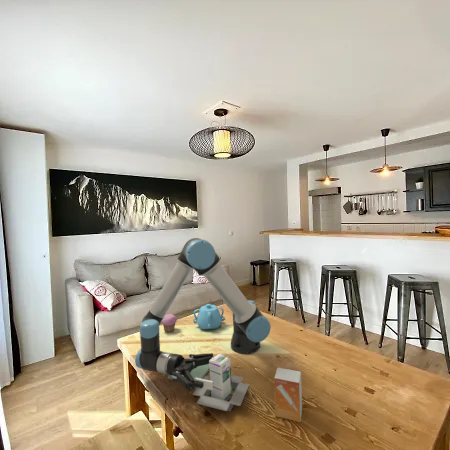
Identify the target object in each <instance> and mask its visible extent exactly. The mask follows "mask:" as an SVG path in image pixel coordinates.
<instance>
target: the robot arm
mask: <svg viewBox="0 0 450 450" xmlns="http://www.w3.org/2000/svg"><path fill="white" fill-rule="evenodd" d="M176 260H177V261H176V262H177V263H176V264H175V266H174V268H173V270H172V271H171V273H170V275H169V276H168V278H167V279H166V281H165V283H164V285H163V286H162V288H161V290H160V292H159V293H158V295H157V296H156V298H155V299H154V302H153V303H152V305H151V306H150V308H149V310H148V311H147V313H146V314H145V315H144V316H143V318H142V320H141V323H140V325H139V337H140V349H139V350H138V351H137V353H136V355H135V356H136V357H135V359H134V363H135V366H136V367H137V368H139V369H141V370H144V371H149V372H155V373H159V374H163V375H168V376H169V375H171V376H172V379H173V380H172V381H176V382H177V383H178V384H179V385H181V386H182V387H183V389H185V390H186V391H191V390H192V391H195V390H196V388H204V389H209V390H213V381H210V380H205V379H204V378H203V379H201V378H195V380H194V378H193V377H192V375H191V374H190V372H191V371H192V370H193V369H195V368H197V367H198V366H202V365H206V364H209V360H211V359H212V358H213V357H214V353H212V352H211V353H202V354H201V353H199V354H192V353H191V354H189V356H188V357H189V358H185V357H184V356H183V355H182V354H178V353H173V352H166V351H162V350H161V343H160V342H161V340H160V331H161V330H160V325H161V324H162V323H161V321H162V320H163V318H164V316H165V315H167V314H168V313H167V312H168V310H170V307H171V305H172V304H173V303H174V301H175V299H176V297H177V296H178V294H179V292H180V291H181V289H182V287H183V285H184V284H185V282H186V280H187V279H188V277H189V275H190V273H191V272H192V271H193V270H194V272H196V273H197V275H198V276H200V277H204V278H205V279H206V281H208V283H209V284H210V285H211V287H212V288H213V289H214V291H215V292H216V293H217V294H218V296H219V297H220V299H222V301H223V302H224V304H226V306H227V307H228V308H229V310H230V311H231V312H232V322H233V323H232V325H233V330H232V331H233V332H232V335H231V339H230V349H231V350H232V351H233V352H235V353H238V354H242V355H247V354H253V353H256V352H258V351H259V350H261V342H263V341H265V340H266V339H267V338H268V336H269V335H270V332H271V329H272V327H271V326H272V325H271V322H270V320H269V319H268V318H267V317H266V316H264V314H263V312H261V310H260V309H259V308H258V307H257V305H256V302H255V301H254V300H250V299H249V300H248V299H247V297H246V296H245V295H244V294H243V292H242V291H241V290H240V288H239V287H238V286H237V285H236V283H235V281H234V280H233V279H232V278H231V276H229V274H228V273H227V272H226V270H225V269H224V267H223V266H222V265H221V258H220V256H219V255H218V254H217V252H216V250H215V248H214V246H213V245H212V244H211V243H210V242H209V241H208V240H205V239H202V238H199V237H195V238H194V237H193V238H191V239H188V240H187V241H186V242H185V244H184V245H183V247H182V250H181V251H180V253H179V256H178V257H177V259H176ZM193 362H194V363H193ZM182 375H183V376H184V377H183V376H182Z"/></svg>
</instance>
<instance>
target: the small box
mask: <svg viewBox="0 0 450 450" xmlns="http://www.w3.org/2000/svg"><path fill="white" fill-rule="evenodd" d="M302 389H303V388H302V372H301V371H300V370H299V371H298V370H293V369H288V368H282V367H276V372H275V375H274V409H275V410H274V412H275V413H274V414H275V417H278V418H282V419H285V420H289V421H293V422H297V423H301V421H302V420H301V419H302V412H303V394H302V393H303V391H302Z"/></svg>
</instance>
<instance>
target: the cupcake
mask: <svg viewBox="0 0 450 450" xmlns="http://www.w3.org/2000/svg"><path fill="white" fill-rule="evenodd" d="M177 321H178V319H177V317H176V315H174V314H172V313H166V314H165V316H164V318H163V320H162V321H161V323H160V324H162V325H163V331H164V332H165V333H171V332H173V331H175V327H176V323H177Z"/></svg>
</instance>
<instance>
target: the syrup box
mask: <svg viewBox="0 0 450 450" xmlns="http://www.w3.org/2000/svg"><path fill="white" fill-rule="evenodd" d="M209 367H210V370H209V376H210V381H213V390H211V393H210V395H211V396H210V397H212V398H216V399H221V400H225V401H228V400H230V399H231V397H232V396H233V394H234V393H233V390H232V378H231V375H232V363H231V357H230V356H227V355H226V354H223V353H218V354H217V355H214V356H213V358H212V359H211V360H209Z"/></svg>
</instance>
